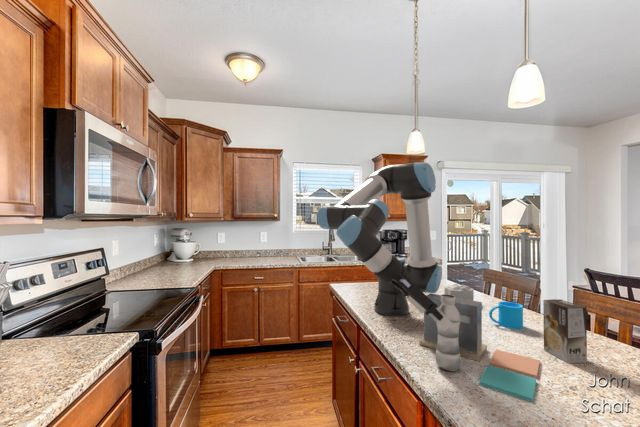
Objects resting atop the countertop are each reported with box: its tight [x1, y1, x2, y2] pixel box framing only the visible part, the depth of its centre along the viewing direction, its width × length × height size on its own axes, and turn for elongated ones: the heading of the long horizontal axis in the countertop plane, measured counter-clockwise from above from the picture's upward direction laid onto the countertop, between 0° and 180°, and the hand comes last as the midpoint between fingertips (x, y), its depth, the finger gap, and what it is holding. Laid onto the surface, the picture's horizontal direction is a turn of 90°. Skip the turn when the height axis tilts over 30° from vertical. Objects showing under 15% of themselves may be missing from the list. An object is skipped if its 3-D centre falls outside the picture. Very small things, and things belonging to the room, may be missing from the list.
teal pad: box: [478, 364, 537, 403], centre depth 76 cm, size 11×11×1 cm
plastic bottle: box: [434, 293, 462, 372], centre depth 83 cm, size 6×7×20 cm
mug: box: [488, 301, 524, 330], centre depth 118 cm, size 12×8×8 cm
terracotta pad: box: [488, 348, 541, 380], centre depth 86 cm, size 11×11×1 cm
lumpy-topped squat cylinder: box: [443, 283, 475, 301], centre depth 148 cm, size 10×13×9 cm
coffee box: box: [542, 298, 588, 364], centre depth 91 cm, size 9×6×16 cm
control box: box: [418, 293, 488, 362], centre depth 97 cm, size 18×10×16 cm, turn 51°
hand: (435, 317), depth 83 cm, fingers open, 13 cm apart
